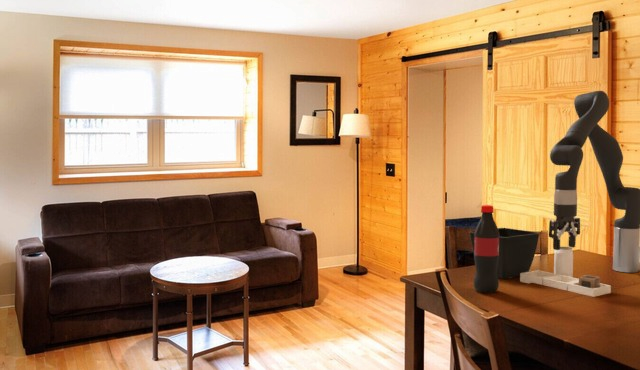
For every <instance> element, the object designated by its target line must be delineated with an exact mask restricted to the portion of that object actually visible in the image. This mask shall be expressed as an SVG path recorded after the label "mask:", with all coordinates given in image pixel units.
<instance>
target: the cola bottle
mask: <svg viewBox="0 0 640 370" xmlns="http://www.w3.org/2000/svg"><path fill="white" fill-rule="evenodd" d="M480 213H481V217H480V220H479V221H478V223H477V225H476V228H475V230H474V231H475V233H474V236H475V249H474V252H473V259H474V266H475V275H474V277H473V287H474V290H475V291H477V292H478V293H483V294H493V293H496V292H497V291H498V288H499V285H500V280H499V278H498V276H497V267H498V262H499V236H500V234H499V231H498V228H499V227H498V226H497V223H496V222H495V221H496V220H495V219H494V217H493V214H494V205H492V204H491V205H490V204H485V205H481V208H480Z"/></svg>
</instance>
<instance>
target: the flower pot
mask: <svg viewBox="0 0 640 370" xmlns="http://www.w3.org/2000/svg"><path fill="white" fill-rule="evenodd" d="M497 228H498V231H499V234H500V236H499V262H498V267H497V276H498V279H502V280H508V279H512V278H520V273H523V272H529V271H531V270H530V269H531V266H532V263H533V261H534V258H535V255H536V252H537V247H538V243H539V237H540V232H535V231H530V230H525V229H523V230H522V229H516V228H515V229H514V228H508V227H497ZM474 233H475V230H473V231H471V230H470V231H469V238H470V242H471V248H472V251H473V253H474V249H475V236H474Z"/></svg>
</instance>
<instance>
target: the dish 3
mask: <svg viewBox="0 0 640 370" xmlns="http://www.w3.org/2000/svg"><path fill="white" fill-rule="evenodd" d="M611 288H612V286H611V285H609V284H605V283H601V282H600V287H598V288H594V289H592V288H588V287H583V286H579V282H574V283H569V284H568V290H567V291H568V292H571V293H576V294H580V295H584V296H587V297H599V296H603V295H607V294H611V293H612V289H611Z"/></svg>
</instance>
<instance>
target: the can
mask: <svg viewBox="0 0 640 370" xmlns="http://www.w3.org/2000/svg"><path fill="white" fill-rule="evenodd" d="M553 257H554V259H553V261H554V262H553V273H554V274H559V275H564V276H568V277H573V275H574V273H573V271H574V252H573V247H569V246H560V250H554V256H553ZM573 278H574V277H573Z"/></svg>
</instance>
